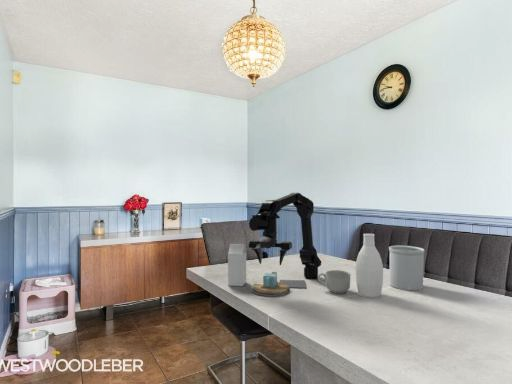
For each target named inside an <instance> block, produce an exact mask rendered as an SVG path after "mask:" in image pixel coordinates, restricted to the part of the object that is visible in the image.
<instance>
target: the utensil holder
mask: <svg viewBox="0 0 512 384" xmlns="http://www.w3.org/2000/svg"><path fill="white" fill-rule="evenodd" d="M388 251H389V285H390V286H391V287H393V288H395V289H399V290H403V291H421V290H423V287H424V271H425V270H424V266H425V265H424V264H425V262H424V261H425V259H424V258H425V252H426V251H425V249H424V248H422V247H418V246H412V245H391V246H388Z"/></svg>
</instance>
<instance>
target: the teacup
mask: <svg viewBox="0 0 512 384" xmlns="http://www.w3.org/2000/svg"><path fill="white" fill-rule="evenodd" d="M351 275H352V274H351V273H350V272H348V271H344V270H337V269H333V270H327V271H326V272H325V273H323V272H320V273H318V279H317V280H318V282H320V283H321V284H322V285H324V287H326V288H327V289H328V291H330V292H331V293H334V294H344V293H346V292H347V291H349V289H350V287H351ZM321 276H323V277H324V279H325V280H322V279H321Z"/></svg>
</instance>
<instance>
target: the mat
mask: <svg viewBox="0 0 512 384" xmlns="http://www.w3.org/2000/svg"><path fill="white" fill-rule="evenodd" d="M279 282H280V283H284V284H286V285H288V288H289V289H307V286H306V281H305V280H301V279H279Z"/></svg>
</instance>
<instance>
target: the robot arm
mask: <svg viewBox="0 0 512 384" xmlns="http://www.w3.org/2000/svg"><path fill="white" fill-rule="evenodd" d="M291 204H292V205H293V206H294V207H295V208H296V213H297V214H298V216H299V217H300V224H301V238H302V247H301V249H299V251H298V252H299V258H300V262H301V265H303V266H304V267H303V276H304V279H311V280H312V279H313V280H318V275H319V267H321V266H322V261H321V258H320V257H319V256H318V252H317V249H316V248H315V246H314V242H313V229H312V228H313V227H312V215H313V214H314V208H315V207H314V206H315V205H314V202H313V201H312V200H311V199H310V198H308V197H306V196H304V195H303V194H301V193H300V192H291V193H289V194H287V195H285V196H282V197H279V198H277V199H268V200H263V201H262V203H261V206H260V207H259V210H258V212H257V213H256V214H252V216H251V218H249V219H250V220H249V222H248V225H249V229H250V230H251V231H252V232H255V231H256V232H257V231H262V236H261V237H260V239H252V240H250V241H249V242H248V249H251V250H252V251H254V252H255V254H256V257H257V259H258V262H259V264H260V265H261V264H262V261H263V259H262V258H263V256H262V253H263V252H262V250H263V249H271V248H280V249H279V265H280V266H281V265H282V263H283V261H284V258H285V255H286V253H287V252H288V251H290V250H291V249H293V243H292V241H284V240H283V241H281V242H278V238H277V235H278V230H277V221H278V220H277V219H280V218H281V217H280V216H279V214H278V213H279V212H280V211H282V209H283V208H285V207H287V206H289V205H291Z"/></svg>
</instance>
